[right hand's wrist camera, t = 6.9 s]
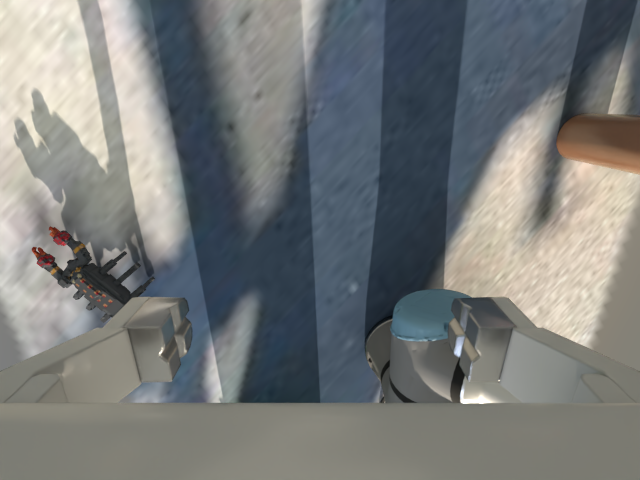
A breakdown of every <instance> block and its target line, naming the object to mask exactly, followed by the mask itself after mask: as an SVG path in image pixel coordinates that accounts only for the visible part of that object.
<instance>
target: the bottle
mask: <svg viewBox="0 0 640 480" xmlns="http://www.w3.org/2000/svg"><path fill="white" fill-rule="evenodd" d="M557 149H558V151H559V153H560V154H561V155H562V156H563V157H565V158H567V159H571V160H575V161H580V162H584V163H589V164H593V165H598V166H602V167H607V168H611V169H616V170H621V171H625V172H630V173H634V174H639V175H640V115H623V114H594V113H583V114H579V115H576V116H574V117H572V118H571V119H569V120H568V121H567V122H566V123H565V124H564V125H563V126H562V128H561V129H560V131H559V133H558V136H557Z"/></svg>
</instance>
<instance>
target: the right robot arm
mask: <svg viewBox="0 0 640 480" xmlns="http://www.w3.org/2000/svg"><path fill="white" fill-rule="evenodd" d="M188 311H189V307H188V302H187V300H186V299H185V298H171V297H134V298H131V299H130V300H129V301H128V303H127V304H126V305H125V306H124V307H123V308H122V309H121V310H120V311H119V312H118V313H117V314H116V315H115V316H114V317H113V318H112V319H111V320H110V321H109V322H108V323H107V324H106V325H105V326H104V327H103V328H96V329H93V330H91V331H89V332H87V333H84V334H82V335H80V336H78V337H76V338H73V339H71V340H69V341H67V342H64V343H62V344H60V345H58V346H55V347H53V348H51V349H49V350H46V351H44V352H42V353H40V354H37V355H35V356H33V357H31V358H28V359H26V360H24V361H22V362H19V363H17V364H15V365H13V366H11V367H8V368H6V369H4V370H2V371H0V480H640V371H638V370H636V369H634V368H631V367H629V366H627V365H625V364H623V363H620V362H618V361H616V360H614V359H611V358H609V357H607V356H605V355H602V354H600V353H598V352H596V351H593V350H591V349H589V348H587V347H585V346H582V345H580V344H578V343H576V342H573V341H571V340H569V339H567V338H564V337H562V336H560V335H558V334H555V333H553V332H551V331H549V330H547V329H544V328H537V327H536V326H535V325H534V324H533V323H532V322H531V321H530V320H529V319H528V318H527V317H526V316H525V315H524V314H523V313H522V312H521V311H520V310H519V309H518V308H517V306H516V305H515V304H514V303H513V302H512V301H511V300H510V299H509V298H506V297H483V298H454V300H453V302H452V307H451V311H452V313H453V315H454V316H455V317H454V318H453V319H452V320H451V321H450V322H449V325H448V342H449V345H450V348H451V350H452V352H453V354H454V355H456V356H457V357H459V358H460V362H459V365H460V367H461V369H462V371H463V373H464V375H465V376H466V378H467V380H468V382H498V383H499V384H500V385H501V386H502V387H504V388H505V389H506V390H507V391H509V392H510V393H511V394H512V395H514V396H515V397H516V398H517V399H519V400H520V401H521V402H523V403H118V402H119V401H120V400H121V399H123V398H124V397H125V396H126V395H128V394H129V393H130V392H132V391H133V390H134V389H135V388H137V387H138V386H139V385H140V384H141V383H142V382H172V380H173V378H174V376H175V375H176V373H177V371H178V369H179V367H180V365H181V362H180V358H181V357H183V356H184V355H186V354H187V352H188V350H189V348H190V345H191V341H192V324H191V322H190V321H189V320H188V319H187V318H186V317H185V316H186V315H187V313H188Z"/></svg>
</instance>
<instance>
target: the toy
mask: <svg viewBox="0 0 640 480" xmlns="http://www.w3.org/2000/svg"><path fill="white" fill-rule="evenodd" d="M49 230H51V231H52V232H51V233H50V235H51V236H52V237H53V239H54V240H53V241H54V242H55V243H56V244H57V245H60V244H61V245H63V246H65V245H66V244H67V245H68V246H69V247H70V248H71V249H72V250H73V252H74V253H75V254H76V256H77V258H76V259H74V260H69V261H68V262H67V263H68V266H67V267H66V269H65V270H64V271H63V270H62V269H60V268H59V267H58V266H57V264H56V263H55V262H54V261H55V257H53V256H52V255H50V254H47V253H45V252H44V251H43V249H41V248H40V247H39V248H38V251H39V252H40V253H39V252H37V251H36V248H37V247H33V248H32V252H33V253H34V254H35V255H36V257H37V260H38V261H37V264H38V265H39V266H41V267H42V268H44V269H46V270H47V271H49V272H50V273H51V275H52V276H53V277H55V278H56V279H57V280H58V284H59V285H61V286H62V287H63V288H65V287H66V288H68V287H69V286H71V285H72V284H74V285H75V287H76V288H77V289H78V291H77V292H76V293H75V294H74V296H73V298H74V299H75V300H77V299H80V298H81V297H82V296H83V295H85V296H84V297H85V298H86V299H87V300H89V301H90V303H89V304H88V305H87V307H86V309H88V310H92V309H93V308H95V307H98V308H99V309H100V310H102V311H104V312H105V313H106V314H105V315H104V316H103V317H102V318H101V319H100V320H101V321H102V322H103V323H104V322H105V321H107V320H108V319H109V318H110V317H112V318H113V317H114V316H115V315H116V314H117V313H118V312H119V311H120V310H121V309H122V308H123V307H124V306H125V305H126V304H127V303H128V301H129V300H130V299H131V298H134V297H138V296H139V295H141V294H142V293H143V292H144V291H145V290H146V289H145V288H146V287H147V286H148V285H149V284H150V283H151V282H152V281H153V280H154V279H155V278H154V277H152V278H150V279H149V280H148V281H147V282H146V283H145V284H144V285H143V286H142V285H141V286H140V287H139V288H138V289H137V290H135V291H134V292H133V293H131V294H130V291H129V290H128V289H127V288H126V287H125V286H122V285H121V282H123V281H124V280H125V279H126V278H127V277H128V276H130V275H131V274H132V273H133V272H134V271H135V270H136V269H137V268H139V267H140V265H139V264H138V263H136V264H135V265H133V266H132V267H131V268H130V269H129V270H128V271H127V272H125V273H124V274H123V275H122V276H121V277H119V278H118V279H115V278H114V277H113V276H112V275H111V274H110V275H108V274H107V272H108V271H109V270H110V269H111V268H113V267H114V266H115V265H116V264H117V263H116V262H117V261H119V260H120V259H121V258H122V257H123V256H125V255H126V254H127V253H126V252H125V251H124V252H123V253H122V254H120V255H119V256H118V257H117V258H115V259H114V260H112V259H111V260H110V261H109V262H108V263H106V264H105V265H104V266H103V267H102V268H100V267H97V266H96V265H95V264H94V263H91V264H89V265H87V264H88V263H89V262H90V261H91V260H92V259H91V258H92V257H90V255H89V254H90V253H89V252H88V251H87V250H86V248H85V245H84V244H83V243H81V242H80V241H79V242H78V241H75V240H73V239H72V236H71V235H70V234H69V233H68V232H67V231H61V232H60V231H59V230H58V229H56V228H55V227H54V228H53V227H49Z"/></svg>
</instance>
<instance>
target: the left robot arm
mask: <svg viewBox="0 0 640 480" xmlns="http://www.w3.org/2000/svg"><path fill="white" fill-rule="evenodd" d="M454 298H472V297H470V296H468V295H466V294H463V293H460V292H456V291H452V290H445V289H429V290H421V291H417V292H413V293H410V294H408V295H406V296H404V297H403V298H402V299H400V300H399V301H398V303H397V304H396V306H395V308H394V311H393V316H390V317H388V318H385V319H383V320H382V321H380V322H379V323H377V324H376V325H375V326H374V327H373V328H372V329H371V330H370V332H369V334H368V335H367V338H366V341H365V353H366V358H367V361H368V363H369V365H370V367H371V368H372V370H373V371H374V373H375V374H376V375H377V377H378V378H379V380H380V381H381V384H382V389H383V394H384V396H383V398H382V400H381V403H384V402H385V403H523V402H521V401H520V400H519V399H517V398H516V397H515V396H514V395H512V394H511V393H510V392H509V391H507V390H506V389H505V388H504V387H502V386H501V385H500V384H499V383H498V382H468V380H467V378H466V376H465V375H464V373H463V371H462V369H461V367H460V365H459V362H460V358H459V357H457V356H456V355H454V354H453V352H452V350H451V348H450V345H449V342H448V325H449V322H450V321H451V320H452V319H453V318H454V317H455V316H454V315H453V313H452V311H451V307H452V302H453V300H454Z"/></svg>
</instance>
